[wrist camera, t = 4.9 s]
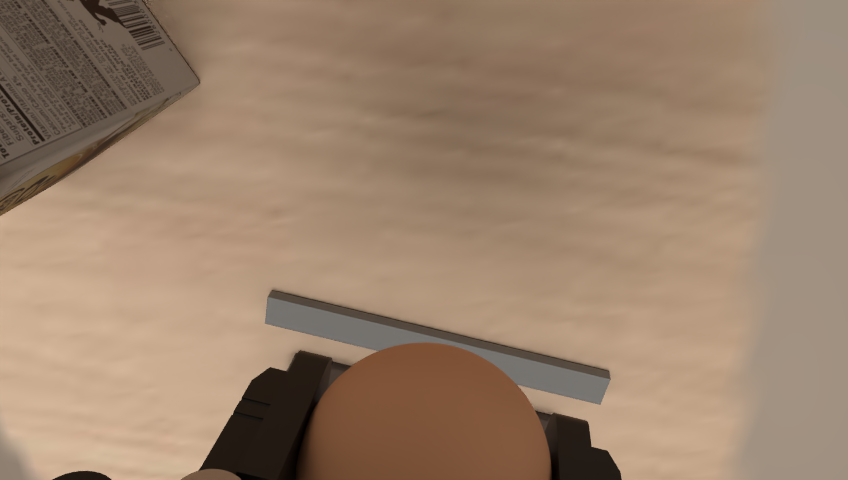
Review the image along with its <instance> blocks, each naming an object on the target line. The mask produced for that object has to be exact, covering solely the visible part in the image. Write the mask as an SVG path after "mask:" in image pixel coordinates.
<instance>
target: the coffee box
mask: <svg viewBox="0 0 848 480" xmlns="http://www.w3.org/2000/svg"><path fill="white" fill-rule="evenodd" d="M198 85H199V81H198V79H197V77H196V76H195V74H194V73H193V72H192V70H191V69H190V67H189V66H188V65H187V63H186V62H185V60H184V59H183V58H182V56H181V55H180V53H179V52H178V51H177V49H176V48H175V46H174V45H173V44H172V42H171V41H170V39H169V38H168V37H167V35H166V34H165V32H164V31H163V30H162V28H161V27H160V25H159V24H158V23H157V21H156V20H155V18H154V17H153V16H152V14H151V13H150V11H149V10H148V9H147V7H146V6H145V4H144V3H143V2H142V0H0V216H1V215H3V214H4V213H6V212H8V211H9V210H11V209H13V208H15V207H16V206H18V205H20V204H21V203H23V202H25V201H27V200H28V199H30V198H32V197H34V196H35V195H37V194H39V193H40V192H42V191H44V190H46V189H47V188H49V187H51V186H52V185H54V184H56V183H58V182H59V181H61V180H63V179H64V178H66V177H67V176H69V175H70V174H72V173H73V172H75V171H76V170H78V169H79V168H81V167H82V166H83V165H85V164H86V163H88V162H89V161H91V160H92V159H93V158H95V157H96V156H98V155H99V154H100V153H102V152H103V151H105V150H106V149H108V148H109V147H110V146H112V145H113V144H115V143H116V142H118V141H119V140H121V139H122V138H124V137H125V136H126V135H128V134H129V133H131V132H132V131H134V130H135V129H136V128H138V127H139V126H141V125H142V124H144V123H145V122H146V121H148V120H149V119H151V118H152V117H154V116H155V115H156V114H158V113H159V112H161V111H162V110H164V109H165V108H166V107H168V106H169V105H171V104H172V103H174V102H175V101H177V100H178V99H180V98H181V97H182V96H184V95H185V94H187V93H188V92H190V91H191V90H192V89H194V88H195V87H197V86H198Z"/></svg>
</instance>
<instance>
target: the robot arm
mask: <svg viewBox="0 0 848 480" xmlns="http://www.w3.org/2000/svg"><path fill="white" fill-rule="evenodd" d="M331 367H332V358H330V357H326V356H322V355H318V354H314V353H309V352H305V351H301V350H300V351H299V352H298V353H297V355H296V357H295V359H294V361H293V363H292V365H291V367H290V369H289V371H288V372H287V371H283V370H279V369H275V368H271V367H270V368H268V369H267V370H266V371H264V372H263V373H261V374H260V375H259V376H257V377H256V378H254V379H253V380H252V381H251V383H250V385H249V386H248V388H247V390H246V391H245V393H244V395H243V396H242V400H241V401H240V402H239V403H238V405H237V407H236V408H235V410H234V413H233V415H231V417H230V419H229V420H228V422H227V424H226V426H225V427H224V429H223V431H222V432H221V434H220V436H219V437H218V439H217V441H216V443H215V444H214V446H213V448H212V449H211V451H210V453H209V455H208V456H207V458H206V460H205V461H204V463H203V465H202V466H201V468H200V469H199V471H196V472H194V473H191V474H189V475H187V476H185V477H184V478H182V479H181V480H296V464H297V459H298V454H299V449H300V446H301V442H302V439H303V435H304V432H305V429H306V426H307V423H308V420H309V417H310V415H311V413H312V411H313V410H314V408H315V406H316V404H317V403H318V401H319V400H320V398H321V397H322V395H323V394H324V393H325V391H326V390H327V389H328V386H329V380H330V373H331ZM544 433H545V436H546V439H547V443H548V447H549V451H550V458H551V467H552V480H622V479H621V473H620V470H619V469H618V467H617V466H616V464H615V462H614V461H613V459H612V457H611V456H610V454H609V452H608V451H606V450H602V449H598V448H594V447H591V439H590V431H589V424H588V422H587V421H585V420H581V419H577V418H573V417H569V416H565V415H561V414H557V413H553V414H552V415H551V417H550V419H549V422H548V424H547V427H546V430H545V432H544ZM53 480H111V479H110V478H109V477H107V476H106V475H103V474H101V473H97V472H92V471H78V472H72V473H68V474H64V475H62V476H59V477H57V478H55V479H53Z"/></svg>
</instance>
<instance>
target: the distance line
mask: <svg viewBox="0 0 848 480" xmlns="http://www.w3.org/2000/svg"><path fill="white" fill-rule="evenodd" d="M265 324H269V325H273V326H277V327H281V328H285V329H290V330H294V331H298V332H302V333H306V334H310V335H314V336H318V337H323V338H327V339H331V340H335V341H339V342H343V343H347V344H352V345H356V346H360V347H364V348H368V349H372V350H376V351H381V350H383V349H386V348H389V347H393V346H397V345H402V344H409V343H424V342H428V343H440V344H446V345H451V346H455V347H458V348H462V349H465V350H467V351H470V352H472V353H474V354H476V355H478V356H480V357H482V358H484V359H486V360H487V361H489V362H491V363H492V364H494V365H495V366H497V367H498V368H499V369H501V370H502V371H503V372H504V373H505V374H506V375H507V376H509V377H510V378H511V379H512V380H513V381H514V382H515V384H517V385H521V386H525V387H529V388H533V389H537V390H541V391H546V392H550V393H554V394H558V395H562V396H566V397H570V398H574V399H579V400H583V401H587V402H591V403H595V404H599V405H600V404H601V402H602V399H603V397H604V394H605V392H606V389H607V387H608V384H609V382H610V374H609V371H606V370H601V369H597V368H593V367H589V366H585V365H581V364H576V363H572V362H568V361H564V360H560V359H556V358H552V357H547V356H543V355H539V354H535V353H531V352H527V351H522V350H518V349H514V348H510V347H506V346H502V345H497V344H493V343H489V342H485V341H481V340H477V339H472V338H468V337H464V336H460V335H456V334H452V333H447V332H443V331H439V330H435V329H431V328H427V327H422V326H418V325H414V324H410V323H406V322H402V321H398V320H393V319H389V318H385V317H381V316H377V315H373V314H368V313H364V312H360V311H356V310H352V309H348V308H343V307H339V306H335V305H331V304H327V303H323V302H318V301H314V300H310V299H306V298H302V297H298V296H293V295H289V294H285V293H281V292H277V291H273V290H272V291H271V293H270V294H269V296H268V299H267V309H266V319H265Z"/></svg>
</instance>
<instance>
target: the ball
mask: <svg viewBox="0 0 848 480" xmlns="http://www.w3.org/2000/svg"><path fill="white" fill-rule="evenodd" d="M296 480H552V467H551V458H550V451H549V447H548V443H547V439H546V436H545V433H544V430H543V427H542V425H541V422H540V420H539V418H538V415H537V414H536V412H535V410H534V408H533V407H532V405H531V403H530V402H529V400H528V398H527V397H526V395H525V394H524V393H523V392H522V391H521V389H520V388H519V387H518V386H517V385H516V384H515V382H514V381H513V380H512V379H511V378H510V377H509V376H507V375H506V374H505V373H504V372H503V371H502V370H501V369H499V368H498V367H497V366H495V365H494V364H492V363H491V362H489V361H487V360H486V359H484V358H482V357H480V356H478V355H476V354H474V353H472V352H470V351H467V350H465V349H462V348H458V347H455V346H451V345H446V344H440V343H428V342H424V343H409V344H402V345H397V346H393V347H389V348H386V349H383V350H381V351H378V352H376V353H373V354H371V355H369V356H367V357H365V358H364V359H362V360H360V361H358V362H357V363H355V364H354V365H353V366H351V367H350V368H349V369H348V370H346V371H345V372H344V373H343V374H341V375H340V376H339V377H338V378H337V379H336V380H335V381H334V382H333V383H332V384H331V385H330V386H329V388H328V389H327V390H326V391H325V393H324V394H323V395H322V397H321V398H320V400H319V401H318V403H317V404H316V406H315V408H314V410H313V411H312V413H311V415H310V417H309V420H308V423H307V426H306V429H305V432H304V435H303V439H302V442H301V446H300V449H299V454H298V459H297V464H296Z"/></svg>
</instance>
